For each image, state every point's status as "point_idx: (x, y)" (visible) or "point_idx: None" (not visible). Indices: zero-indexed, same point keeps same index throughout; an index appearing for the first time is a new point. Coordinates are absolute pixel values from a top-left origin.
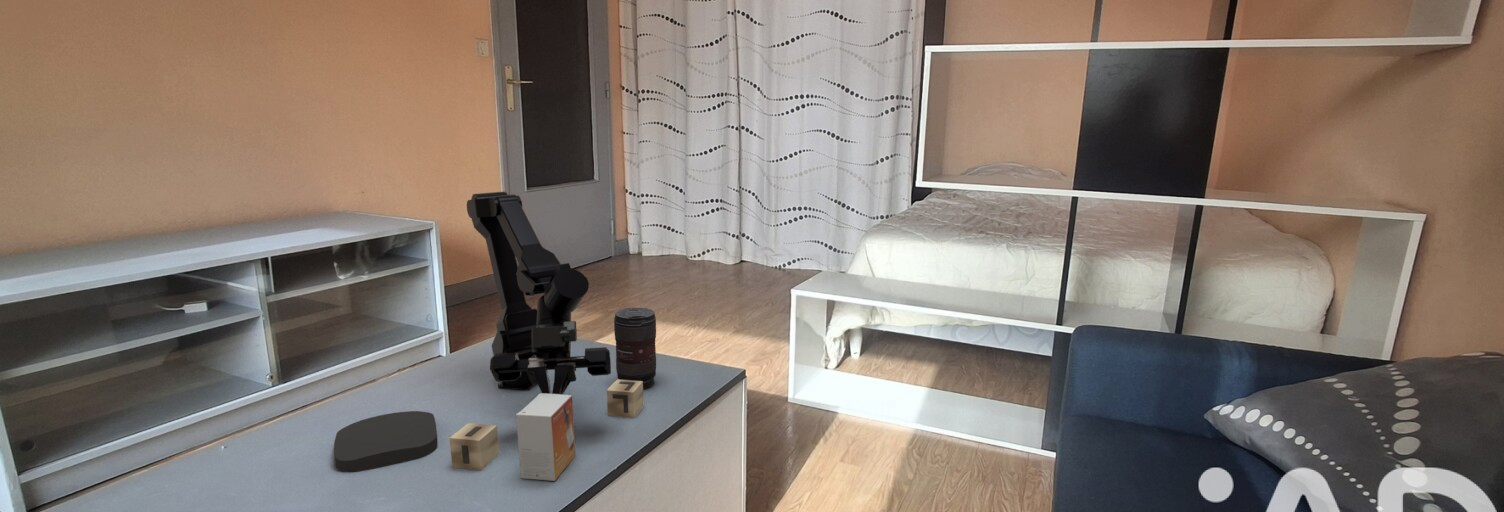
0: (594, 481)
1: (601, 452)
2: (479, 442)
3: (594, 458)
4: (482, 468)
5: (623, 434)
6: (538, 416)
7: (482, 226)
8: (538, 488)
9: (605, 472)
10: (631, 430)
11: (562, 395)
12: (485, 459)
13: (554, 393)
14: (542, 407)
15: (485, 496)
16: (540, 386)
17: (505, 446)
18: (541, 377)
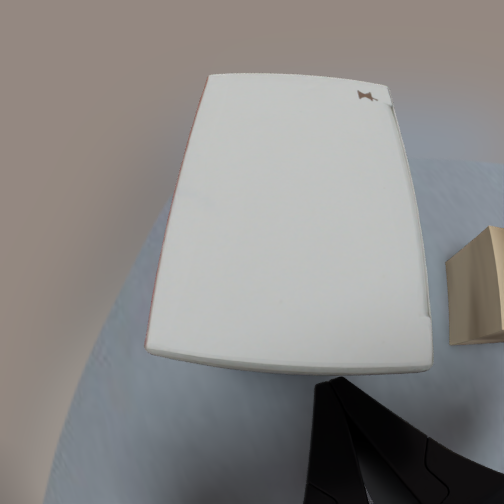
0: (146, 239)
1: (155, 387)
2: (486, 229)
3: None
4: (447, 264)
5: (124, 483)
6: (272, 75)
7: None
8: None
9: (126, 280)
10: (111, 499)
11: (219, 337)
12: (456, 273)
13: (339, 463)
14: (293, 133)
15: None
16: (461, 459)
17: (452, 386)
18: (493, 502)
